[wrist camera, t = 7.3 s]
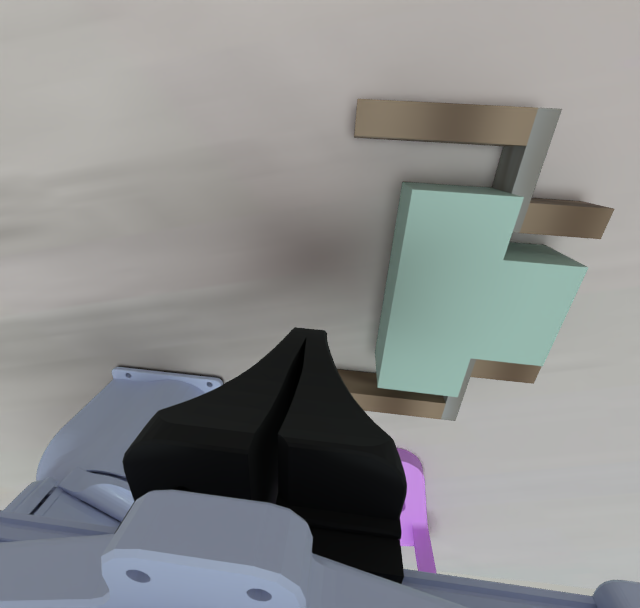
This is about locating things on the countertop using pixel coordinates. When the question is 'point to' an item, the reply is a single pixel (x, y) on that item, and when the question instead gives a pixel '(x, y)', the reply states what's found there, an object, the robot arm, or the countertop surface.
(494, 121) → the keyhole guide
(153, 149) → the countertop surface
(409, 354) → the t slider
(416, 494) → the bracket
